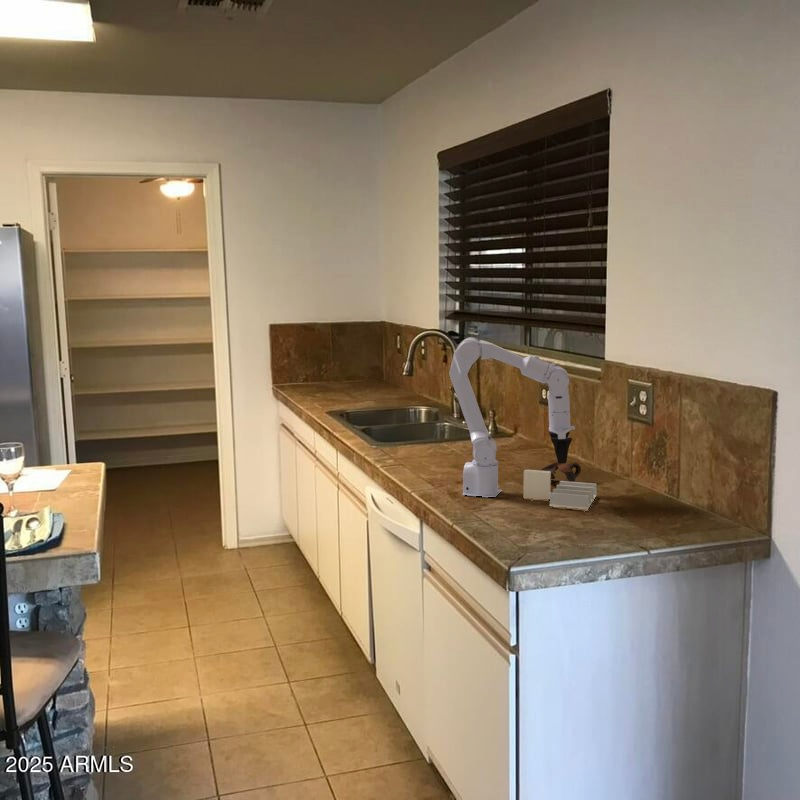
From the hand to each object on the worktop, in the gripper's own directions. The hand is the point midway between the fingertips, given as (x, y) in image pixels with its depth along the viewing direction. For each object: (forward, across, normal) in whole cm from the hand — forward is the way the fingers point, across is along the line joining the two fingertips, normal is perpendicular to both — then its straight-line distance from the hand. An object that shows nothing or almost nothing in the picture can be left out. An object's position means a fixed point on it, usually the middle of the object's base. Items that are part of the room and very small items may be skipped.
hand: (561, 459), depth 239 cm
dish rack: (+10, -6, -2) cm, 13 cm away
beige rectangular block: (+10, -4, +7) cm, 13 cm away
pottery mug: (+11, +14, -1) cm, 18 cm away
